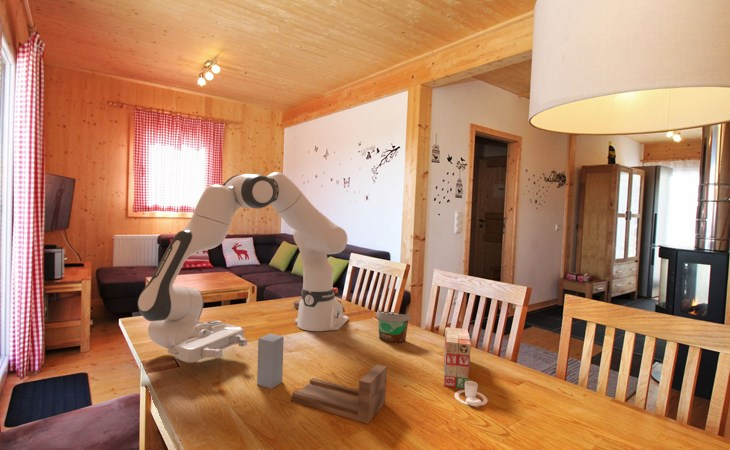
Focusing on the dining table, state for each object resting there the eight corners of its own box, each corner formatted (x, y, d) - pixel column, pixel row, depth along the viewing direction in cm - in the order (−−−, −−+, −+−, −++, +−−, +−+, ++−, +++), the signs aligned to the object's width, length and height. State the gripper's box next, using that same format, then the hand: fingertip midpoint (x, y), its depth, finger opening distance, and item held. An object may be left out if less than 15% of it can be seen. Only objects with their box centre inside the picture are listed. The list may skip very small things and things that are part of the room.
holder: (313, 384, 103) (314, 350, 102) (384, 403, 95) (386, 366, 94) (290, 401, 94) (292, 364, 93) (368, 423, 86) (369, 383, 85)
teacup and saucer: (481, 412, 93) (482, 395, 93) (448, 402, 97) (449, 386, 97) (491, 397, 101) (492, 382, 100) (460, 388, 105) (461, 373, 105)
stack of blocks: (443, 356, 126) (445, 317, 125) (463, 358, 125) (466, 319, 124) (443, 386, 105) (446, 341, 104) (468, 389, 104) (471, 343, 103)
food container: (369, 340, 136) (371, 312, 136) (376, 335, 142) (377, 308, 141) (404, 347, 132) (405, 317, 131) (409, 341, 138) (410, 313, 137)
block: (268, 377, 106) (269, 333, 105) (282, 381, 104) (283, 336, 103) (257, 384, 101) (258, 338, 101) (271, 388, 100) (272, 341, 99)
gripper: (164, 338, 103) (203, 349, 97) (222, 319, 122) (258, 326, 116) (163, 362, 103) (203, 374, 98) (221, 339, 122) (257, 347, 116)
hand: (233, 348), depth 107 cm, fingers open, 8 cm apart
